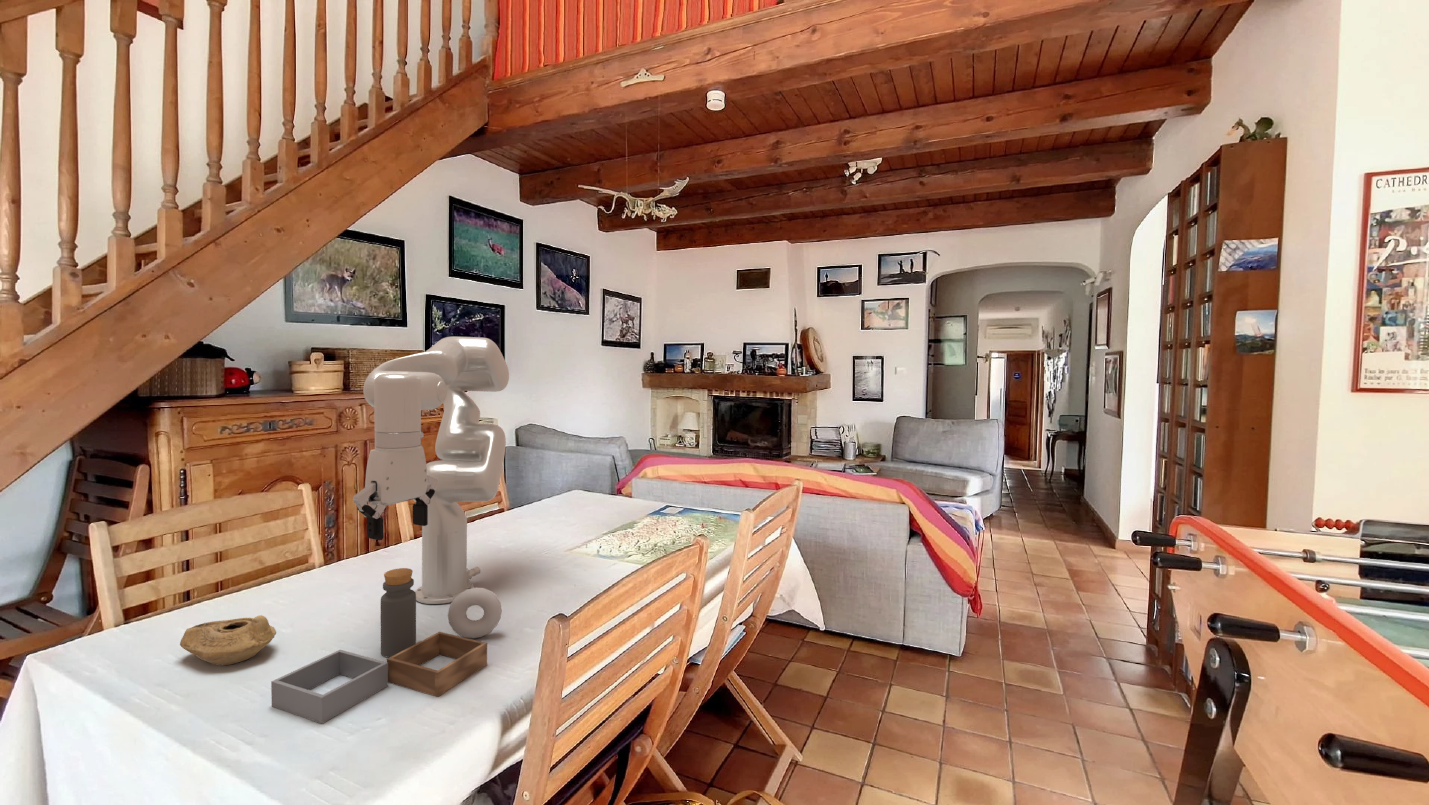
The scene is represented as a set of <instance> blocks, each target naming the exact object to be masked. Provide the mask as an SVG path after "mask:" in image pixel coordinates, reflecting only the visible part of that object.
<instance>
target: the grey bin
mask: <svg viewBox="0 0 1429 805" xmlns="http://www.w3.org/2000/svg"><path fill="white" fill-rule="evenodd" d="M339 675H341V676H343V677H348V678H350V680H348V681H347V682H344V683H343V684H341V685H338V686H337V687H335V688H333V689H332V690H330V691H327V692H326V693H324V694H322V693H319V692H316V691H312V689H313V688H315V687H317V686H319V685H321V684H323V683H325V682H327V681H329V680H330V679H333V678H334V677H337V676H339ZM351 678H352V679H351ZM270 684H271V686H270V687H271V707H272V708H275V709H278V710H281V711H284V712H287V713H290V714H292V715H296V716H298V717H301V718H305V719H307V720H310V721H313V722H315V723H319V724H321V725H322V724H324V723H326V722H328V721H329V720H331V719H333V718H335V717H336V716H338V715H340V714H342V713H343V712H346V711H347V710H348V709H350V708H351V707H354V706H355V705H357V704H359V703H360V702H362V701H364V700H366V699H368V698H370V697H371V696H373V695H374V694H376V693H379V692H380V691H382V690H383V689H385V688H387V687H388V686H389V682H388V663H387V661H383V660H381V659H380V660H379V659H377V658H372V657H368V656H365V655H361V654H357V653H354V652H350V651H347V650H343V649H338V650H336V651H334V652H331V653H330V654H327V655H325V656H324V657H321V658H318V659H317V660H315V661H312V662H310V663H308V664H306V665H304V666H302V667H299V668H298V669H295V670H293V671H291V672H289V673H287V674H285V675H282V676H280V677H278V678H276V679H273V680H272V681H271V683H270ZM341 712H342V713H341ZM334 716H335V717H334Z"/></svg>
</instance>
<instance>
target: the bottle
mask: <svg viewBox="0 0 1429 805" xmlns="http://www.w3.org/2000/svg"><path fill="white" fill-rule="evenodd" d="M412 574H413V569H411V568H407V567H400V568H393V569H389V570H388V571H386V572H384V574H383V575H384V576H383V577H384V580H385V581H384V582H383V583H382V589H383V591H385V593H384V594H382V595H381V597H380V655H381V656H383V657H384V658H390V657H392V656H394V655H395V654H397V653H399V652H401V651H403V650H405V649H407V648H409V647H411V646H413V645H415V644H417V600H416V593H415V591H416V590H413V589H412V587H413V586H414V585H415V580H414V579H413V578H412V577H413V575H412Z"/></svg>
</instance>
